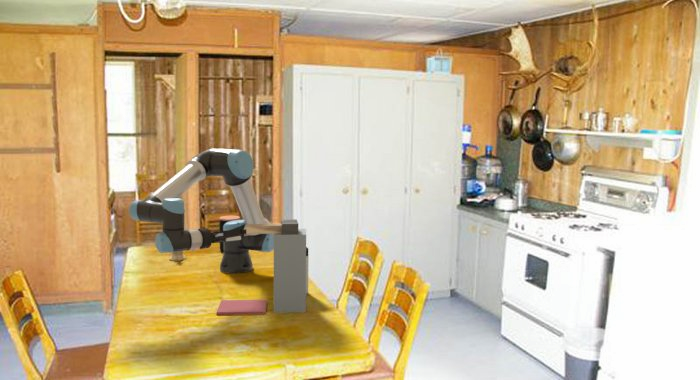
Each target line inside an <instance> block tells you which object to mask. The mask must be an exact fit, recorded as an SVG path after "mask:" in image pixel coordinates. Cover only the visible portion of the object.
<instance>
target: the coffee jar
mask: <svg viewBox="0 0 700 380" xmlns="http://www.w3.org/2000/svg"><path fill="white" fill-rule="evenodd" d="M218 219H219V229H218V230H219V231H223V226H224V224H225V223H227V222H230V221H235V220H241V216H238V215H221V216H220V217H219V218H218ZM219 250H220V252H221V253H224V245H223V242H221V243H219Z"/></svg>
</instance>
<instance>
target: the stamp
mask: <svg viewBox="0 0 700 380" xmlns="http://www.w3.org/2000/svg"><path fill="white" fill-rule="evenodd" d="M298 229H299V222H298V220H297V219H294V218H293V219H280V223H269V224H246V234H275V233H282V235H292V234H298Z"/></svg>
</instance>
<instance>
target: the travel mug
mask: <svg viewBox="0 0 700 380" xmlns="http://www.w3.org/2000/svg"><path fill="white" fill-rule="evenodd" d="M308 295H309V247H308V246H306V296H308Z"/></svg>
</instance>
